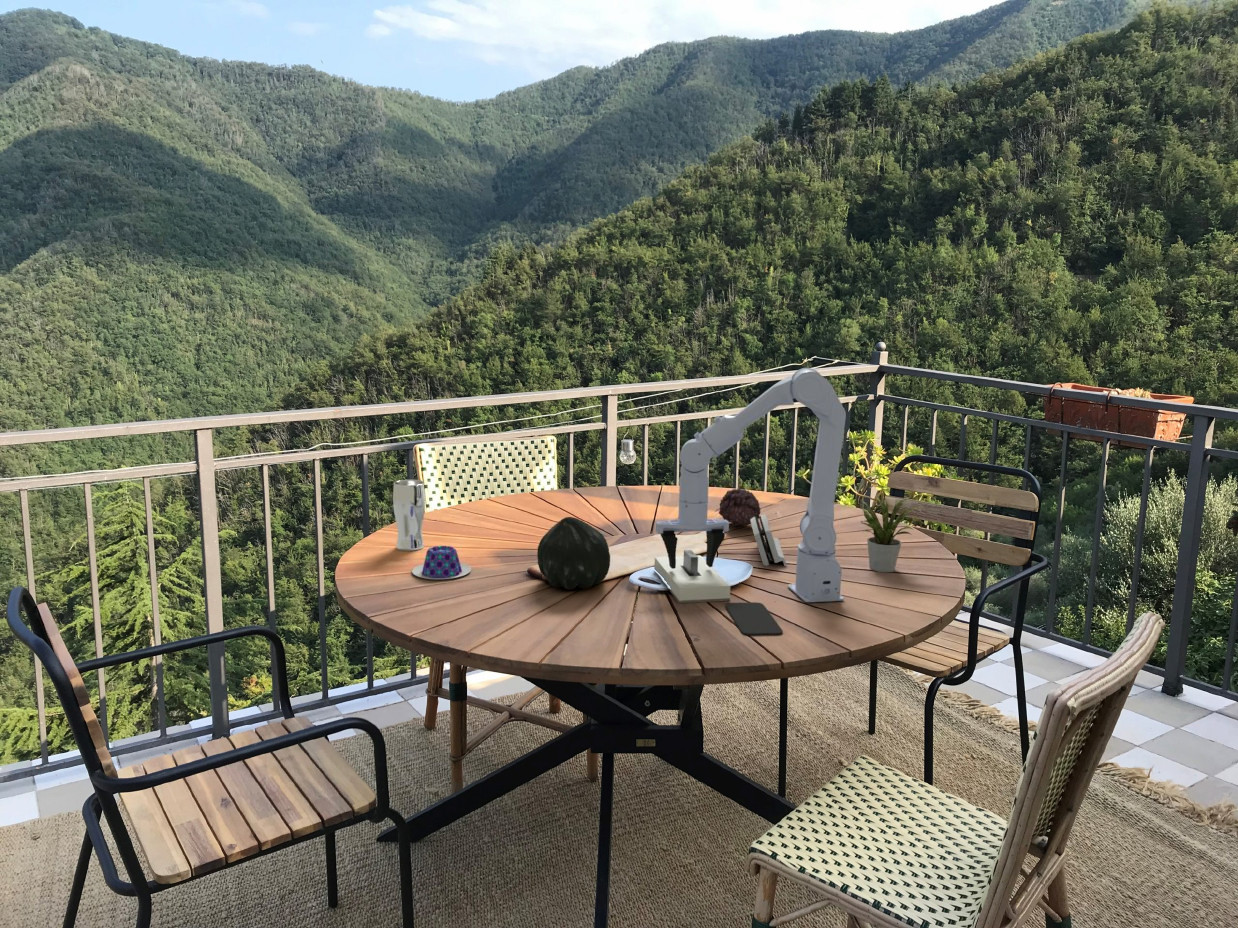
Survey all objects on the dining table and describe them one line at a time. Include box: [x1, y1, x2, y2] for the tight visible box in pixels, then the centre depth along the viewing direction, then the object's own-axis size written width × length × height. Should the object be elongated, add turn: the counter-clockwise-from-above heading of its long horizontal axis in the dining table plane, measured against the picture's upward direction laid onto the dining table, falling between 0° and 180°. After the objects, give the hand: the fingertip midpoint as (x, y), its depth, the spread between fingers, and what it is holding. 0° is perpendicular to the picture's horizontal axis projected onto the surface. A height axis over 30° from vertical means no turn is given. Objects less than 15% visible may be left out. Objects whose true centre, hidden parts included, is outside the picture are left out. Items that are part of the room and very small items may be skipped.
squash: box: [536, 516, 611, 591], centre depth 172 cm, size 14×15×15 cm
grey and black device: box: [750, 514, 788, 567], centre depth 196 cm, size 17×5×10 cm, turn 175°
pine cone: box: [718, 487, 761, 527], centre depth 219 cm, size 18×10×10 cm, turn 12°
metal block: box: [683, 549, 698, 576], centre depth 174 cm, size 5×2×6 cm, turn 12°
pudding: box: [411, 545, 472, 580], centre depth 179 cm, size 12×12×5 cm
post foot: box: [653, 554, 731, 604], centre depth 174 cm, size 20×10×3 cm, turn 11°
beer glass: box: [392, 479, 426, 552], centre depth 194 cm, size 7×7×15 cm
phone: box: [724, 601, 784, 637], centre depth 156 cm, size 7×1×15 cm
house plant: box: [860, 496, 922, 573], centre depth 187 cm, size 14×14×16 cm
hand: (690, 566), depth 173 cm, fingers open, 7 cm apart
